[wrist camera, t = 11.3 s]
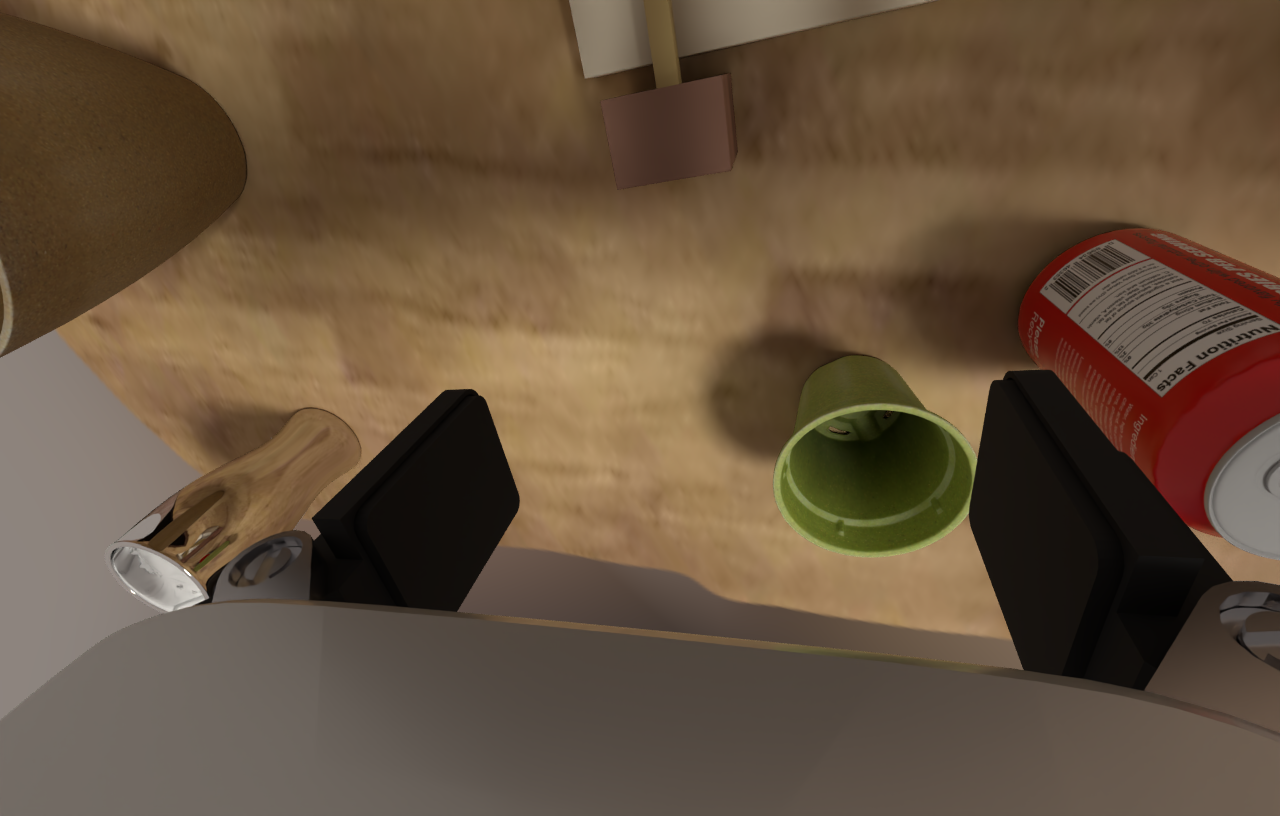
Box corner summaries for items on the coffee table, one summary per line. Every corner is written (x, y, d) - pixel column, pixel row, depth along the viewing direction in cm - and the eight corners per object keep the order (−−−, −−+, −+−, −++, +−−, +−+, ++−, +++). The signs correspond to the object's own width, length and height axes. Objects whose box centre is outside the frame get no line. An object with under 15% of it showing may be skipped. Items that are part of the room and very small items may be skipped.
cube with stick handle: (712, -135, 23) (696, -189, 18) (737, 151, 28) (730, 170, 23) (598, -99, 24) (553, -141, 19) (642, 168, 30) (617, 189, 25)
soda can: (1059, 208, 27) (1311, 336, 14) (1233, 238, 26) (1659, 401, 14) (983, 351, 31) (1127, 546, 19) (1131, 381, 30) (1383, 604, 18)
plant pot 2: (755, 441, 37) (752, 533, 30) (796, 312, 32) (804, 385, 25) (897, 473, 36) (929, 575, 29) (962, 346, 31) (1020, 432, 24)
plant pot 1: (265, 2, 29) (-164, -48, 16) (325, 277, 37) (76, 398, 24) (22, -26, 31) (-554, -94, 17) (130, 242, 39) (-205, 338, 25)
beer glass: (361, 414, 43) (193, 559, 30) (371, 482, 47) (226, 635, 34) (278, 393, 43) (81, 527, 31) (295, 462, 47) (125, 605, 35)
